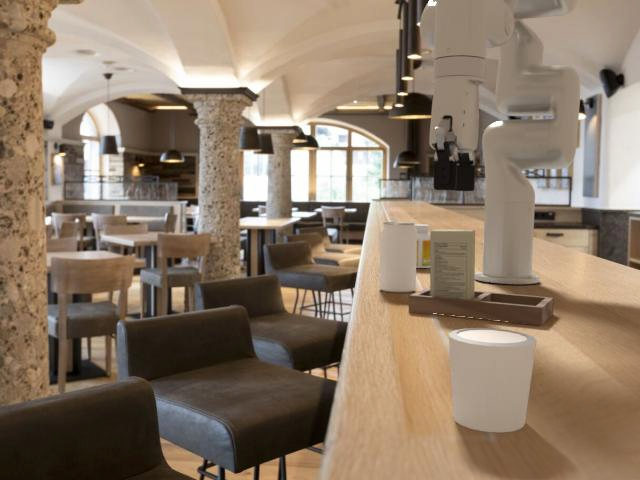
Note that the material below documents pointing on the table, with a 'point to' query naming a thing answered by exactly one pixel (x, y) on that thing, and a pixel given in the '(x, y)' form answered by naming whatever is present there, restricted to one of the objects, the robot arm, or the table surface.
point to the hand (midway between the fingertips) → (454, 190)
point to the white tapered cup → (491, 378)
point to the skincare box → (452, 263)
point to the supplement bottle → (423, 246)
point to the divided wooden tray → (486, 306)
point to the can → (398, 257)
